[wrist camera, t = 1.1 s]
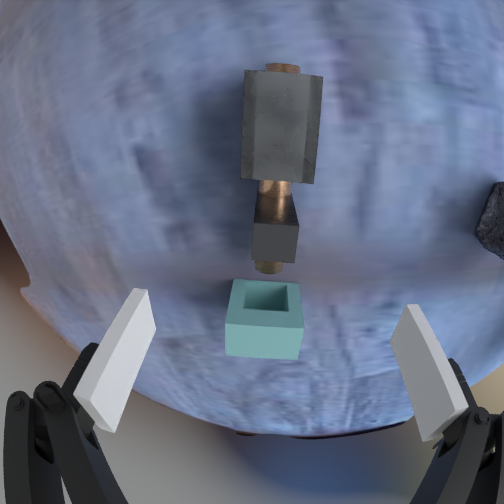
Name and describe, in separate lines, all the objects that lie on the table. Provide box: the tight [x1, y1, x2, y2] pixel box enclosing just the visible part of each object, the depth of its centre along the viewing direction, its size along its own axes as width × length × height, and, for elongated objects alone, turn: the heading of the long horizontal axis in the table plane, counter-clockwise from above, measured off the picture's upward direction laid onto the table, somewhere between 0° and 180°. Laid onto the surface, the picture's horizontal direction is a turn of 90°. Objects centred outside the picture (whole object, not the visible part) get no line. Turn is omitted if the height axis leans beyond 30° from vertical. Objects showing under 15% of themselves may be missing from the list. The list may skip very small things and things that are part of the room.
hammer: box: [252, 63, 300, 274], centre depth 23 cm, size 20×3×9 cm, turn 177°
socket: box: [225, 279, 305, 360], centre depth 32 cm, size 5×8×8 cm, turn 87°
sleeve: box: [240, 70, 323, 184], centre depth 23 cm, size 9×6×6 cm, turn 177°
